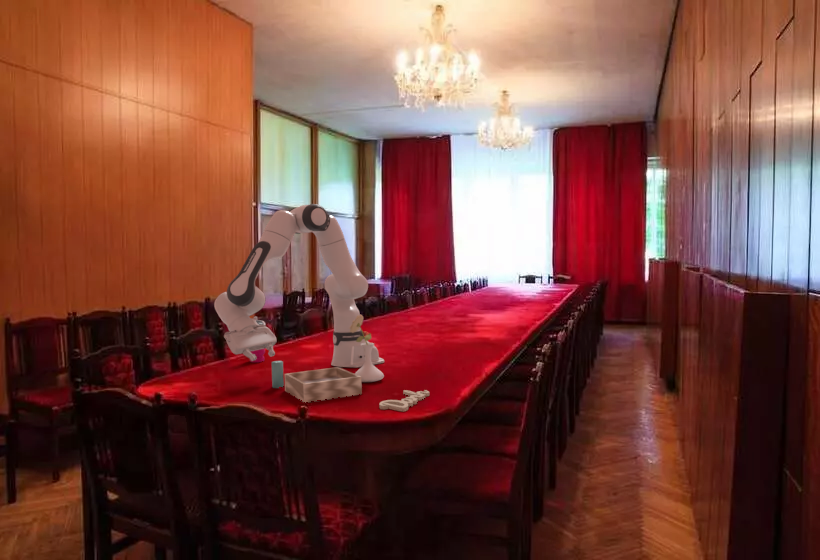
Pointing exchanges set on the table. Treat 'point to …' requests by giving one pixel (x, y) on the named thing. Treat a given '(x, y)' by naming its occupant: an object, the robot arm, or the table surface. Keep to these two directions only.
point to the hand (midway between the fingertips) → (263, 357)
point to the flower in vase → (366, 355)
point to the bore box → (323, 384)
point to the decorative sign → (404, 401)
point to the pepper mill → (258, 352)
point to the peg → (277, 374)
